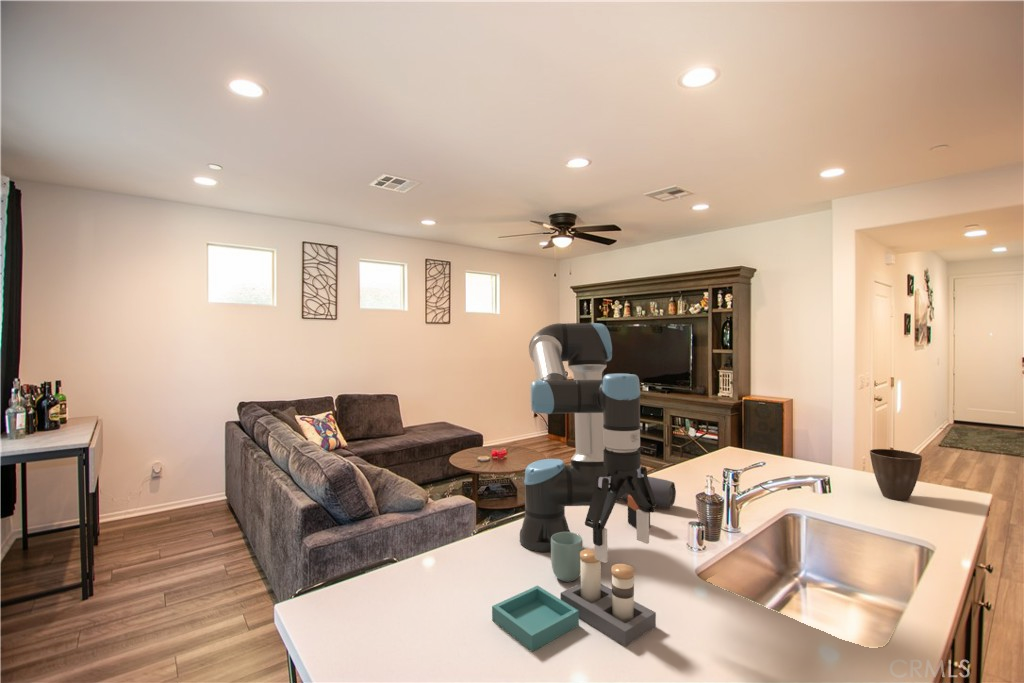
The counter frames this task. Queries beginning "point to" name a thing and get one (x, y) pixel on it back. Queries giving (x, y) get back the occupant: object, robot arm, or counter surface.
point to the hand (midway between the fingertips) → (622, 550)
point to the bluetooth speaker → (660, 491)
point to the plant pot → (896, 472)
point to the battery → (632, 512)
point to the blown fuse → (622, 592)
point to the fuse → (590, 576)
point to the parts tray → (535, 617)
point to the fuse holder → (610, 615)
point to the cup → (566, 555)
